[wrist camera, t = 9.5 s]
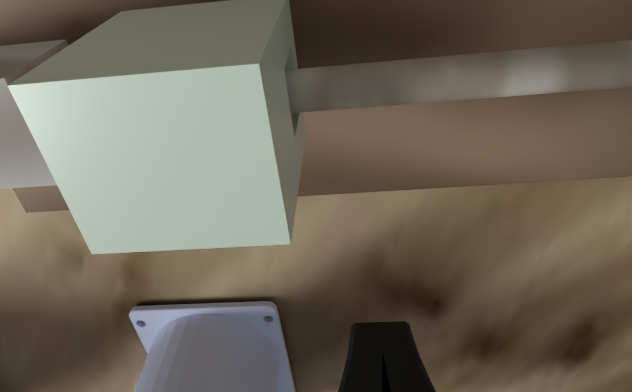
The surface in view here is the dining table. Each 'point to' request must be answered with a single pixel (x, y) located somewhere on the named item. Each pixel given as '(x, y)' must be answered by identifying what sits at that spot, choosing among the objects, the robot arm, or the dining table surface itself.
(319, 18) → the board
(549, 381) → the dining table surface
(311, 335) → the dining table surface
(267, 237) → the pale green block
